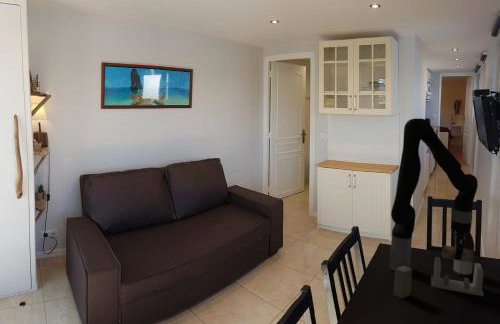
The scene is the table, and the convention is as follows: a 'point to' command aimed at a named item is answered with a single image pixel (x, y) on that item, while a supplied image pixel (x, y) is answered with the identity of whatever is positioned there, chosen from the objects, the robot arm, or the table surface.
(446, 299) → the table surface
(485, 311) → the table surface
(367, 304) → the table surface
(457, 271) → the wine bottle
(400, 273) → the skincare box
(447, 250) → the brown wooden block
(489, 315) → the table surface
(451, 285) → the frame
